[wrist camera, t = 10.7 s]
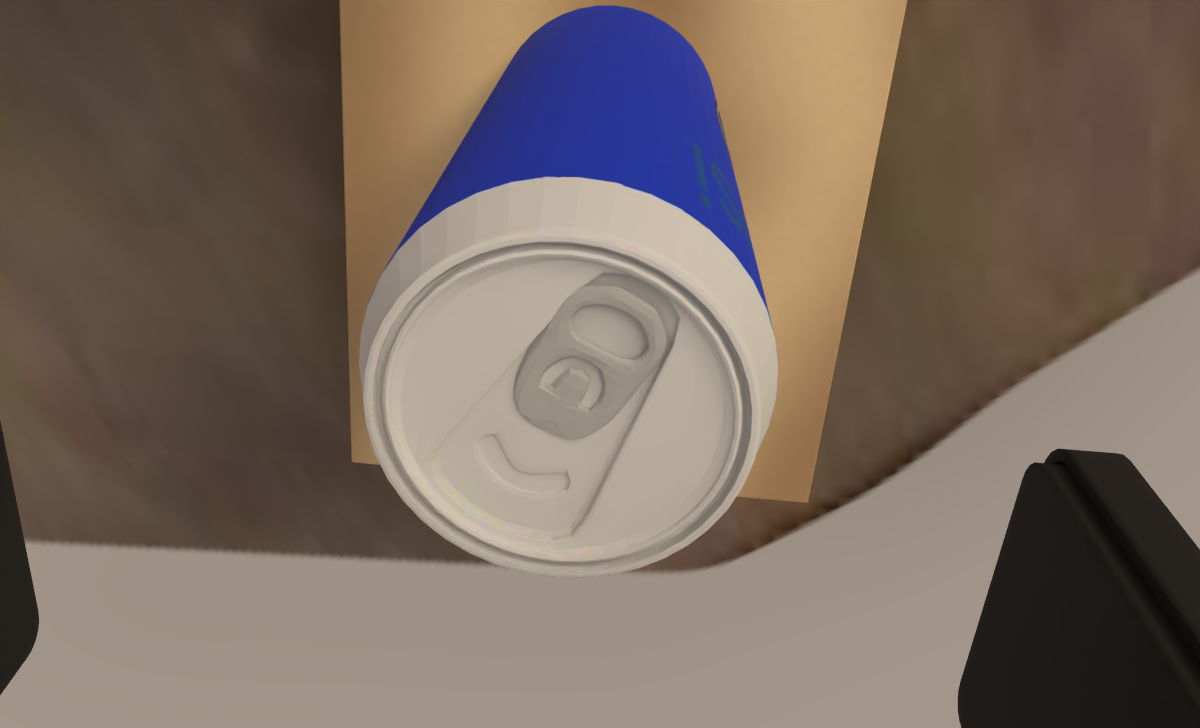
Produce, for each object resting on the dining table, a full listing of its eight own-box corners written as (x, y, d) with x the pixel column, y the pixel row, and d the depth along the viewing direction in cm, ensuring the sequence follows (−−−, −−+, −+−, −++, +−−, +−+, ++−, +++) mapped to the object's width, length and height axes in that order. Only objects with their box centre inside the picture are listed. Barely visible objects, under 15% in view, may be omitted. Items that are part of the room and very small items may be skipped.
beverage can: (641, 253, 27) (633, 660, 14) (462, 147, 26) (266, 476, 13) (758, 78, 25) (880, 356, 12) (569, -45, 24) (469, 109, 11)
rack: (401, 355, 37) (351, 462, 31) (400, -126, 30) (335, -114, 24) (780, 389, 37) (808, 504, 30) (863, -85, 30) (920, -62, 24)
